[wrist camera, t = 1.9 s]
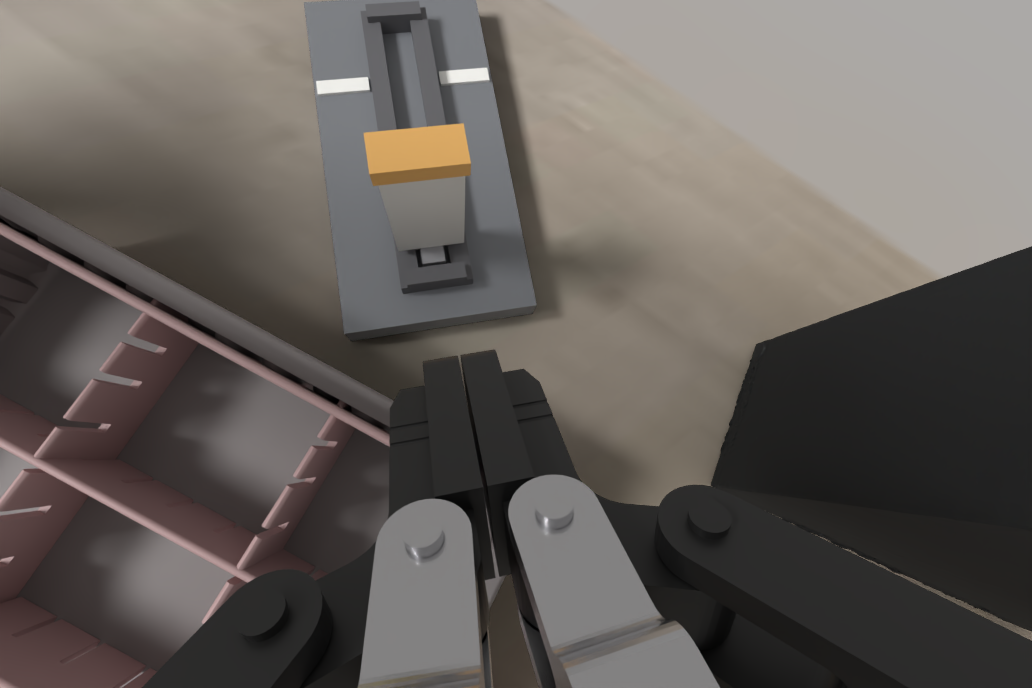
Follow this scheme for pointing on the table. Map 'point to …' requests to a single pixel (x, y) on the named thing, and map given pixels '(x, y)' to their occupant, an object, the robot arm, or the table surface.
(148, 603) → the organizer tray
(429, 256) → the fader tab
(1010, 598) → the black drawer cabinet
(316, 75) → the grey slider track base
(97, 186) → the table surface
